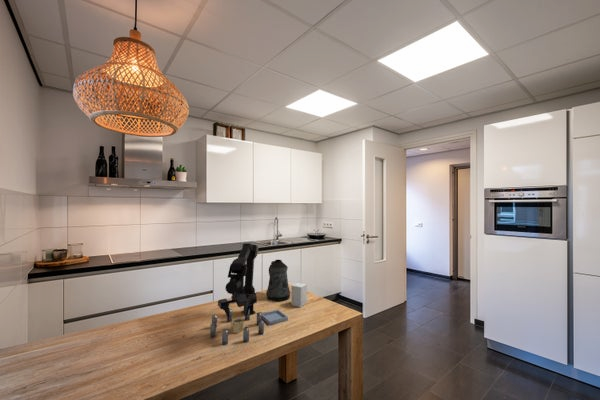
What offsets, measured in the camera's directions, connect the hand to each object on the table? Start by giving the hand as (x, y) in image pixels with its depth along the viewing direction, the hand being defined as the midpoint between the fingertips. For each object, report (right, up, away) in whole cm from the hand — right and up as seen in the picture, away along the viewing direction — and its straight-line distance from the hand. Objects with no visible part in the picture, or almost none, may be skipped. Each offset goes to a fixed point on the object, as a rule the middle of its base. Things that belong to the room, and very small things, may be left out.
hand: (237, 317), depth 135 cm
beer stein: (+16, -7, +47) cm, 50 cm away
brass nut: (0, -6, 0) cm, 6 cm away
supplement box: (+31, -7, +34) cm, 47 cm away
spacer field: (0, -6, 0) cm, 6 cm away
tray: (+17, -7, +14) cm, 23 cm away
